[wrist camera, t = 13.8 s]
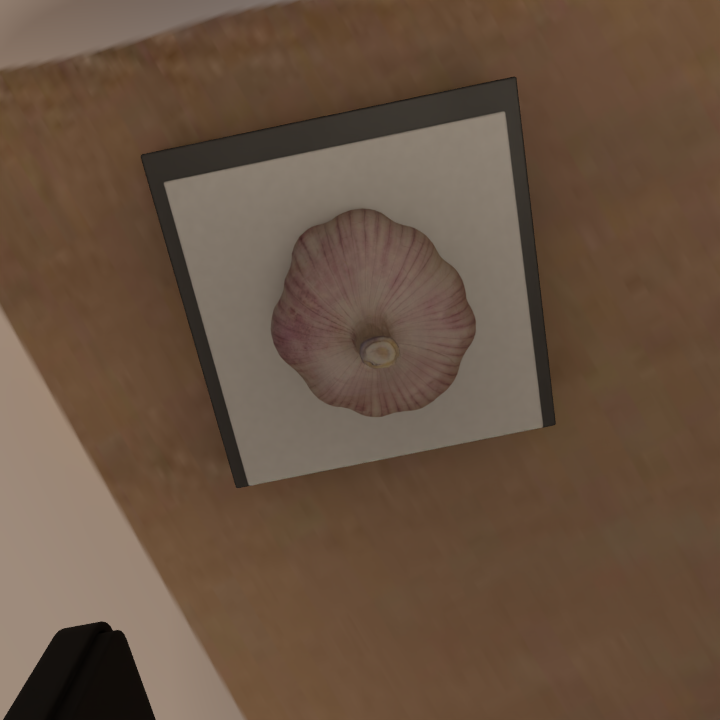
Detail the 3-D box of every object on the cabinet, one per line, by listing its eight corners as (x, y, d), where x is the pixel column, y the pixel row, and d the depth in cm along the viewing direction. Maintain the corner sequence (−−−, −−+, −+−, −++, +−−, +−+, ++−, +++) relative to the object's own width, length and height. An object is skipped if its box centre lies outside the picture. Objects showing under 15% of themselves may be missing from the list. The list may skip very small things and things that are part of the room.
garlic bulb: (277, 200, 24) (252, 221, 16) (474, 209, 24) (540, 234, 17) (276, 394, 26) (253, 492, 18) (456, 399, 26) (506, 497, 19)
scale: (500, 82, 26) (521, 73, 23) (539, 404, 30) (561, 431, 27) (156, 154, 26) (135, 155, 23) (243, 464, 30) (234, 496, 27)
